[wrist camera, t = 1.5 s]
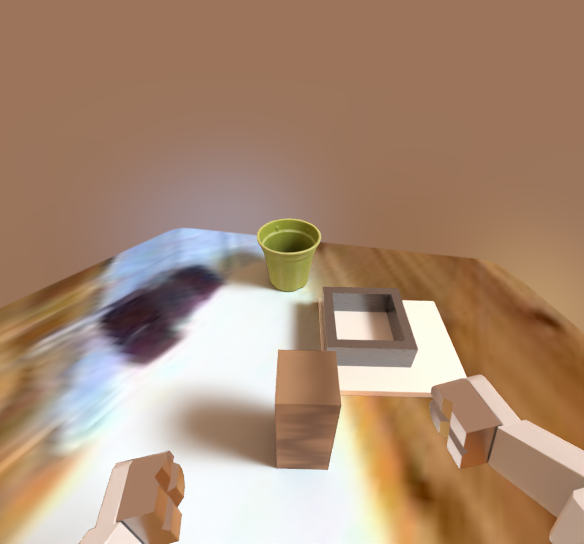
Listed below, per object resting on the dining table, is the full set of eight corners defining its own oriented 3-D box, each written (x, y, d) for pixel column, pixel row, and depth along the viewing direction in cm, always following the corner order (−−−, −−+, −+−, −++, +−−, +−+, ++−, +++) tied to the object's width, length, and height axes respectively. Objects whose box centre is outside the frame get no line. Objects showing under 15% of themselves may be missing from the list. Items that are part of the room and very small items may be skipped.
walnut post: (276, 468, 33) (274, 403, 26) (279, 418, 37) (278, 349, 29) (327, 469, 33) (341, 405, 26) (325, 420, 37) (335, 351, 29)
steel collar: (325, 365, 41) (327, 347, 39) (321, 304, 49) (322, 286, 47) (411, 367, 41) (418, 349, 39) (392, 306, 49) (398, 288, 47)
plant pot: (253, 296, 52) (249, 250, 46) (265, 259, 59) (263, 215, 54) (314, 303, 51) (318, 256, 46) (319, 264, 58) (323, 220, 53)
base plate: (323, 394, 39) (324, 389, 39) (318, 303, 51) (318, 298, 50) (470, 398, 39) (473, 393, 39) (431, 306, 51) (433, 301, 50)
